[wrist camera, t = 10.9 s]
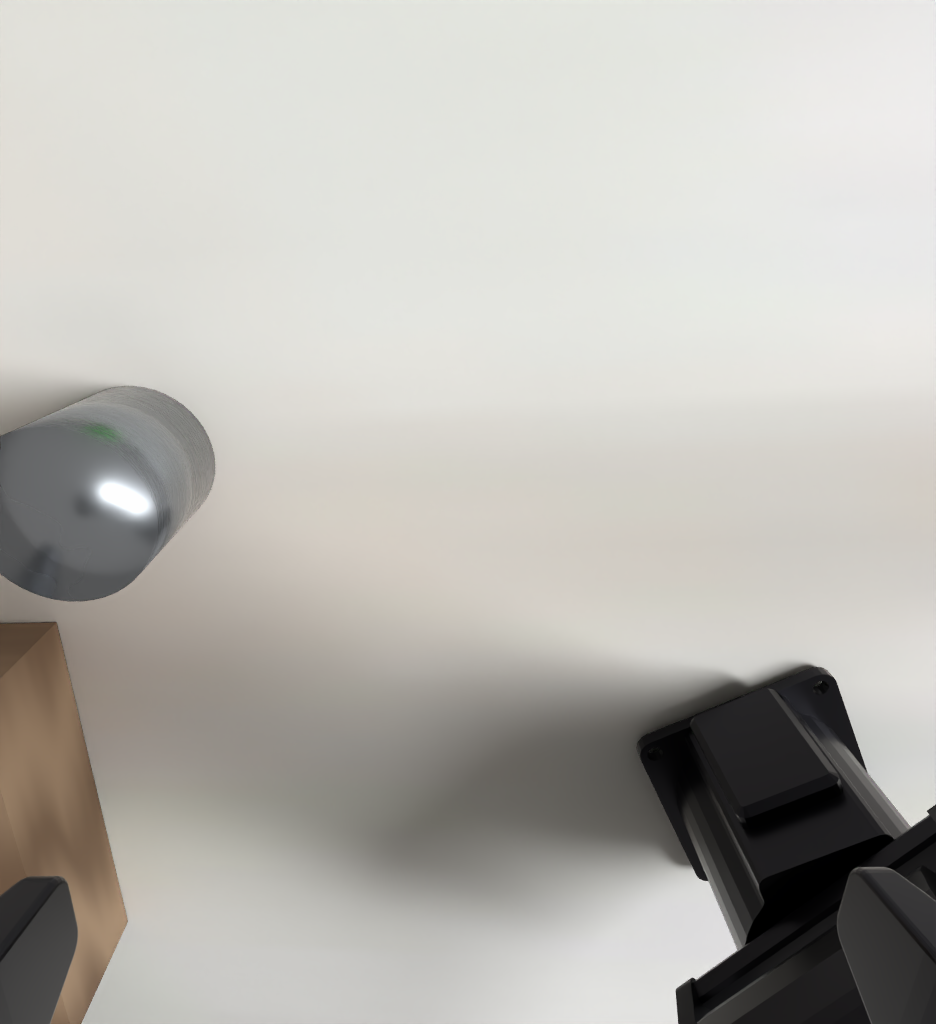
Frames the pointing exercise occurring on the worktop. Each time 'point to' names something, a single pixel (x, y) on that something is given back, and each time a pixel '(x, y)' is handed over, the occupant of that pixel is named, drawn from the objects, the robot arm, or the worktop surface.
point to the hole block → (54, 803)
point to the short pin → (99, 491)
